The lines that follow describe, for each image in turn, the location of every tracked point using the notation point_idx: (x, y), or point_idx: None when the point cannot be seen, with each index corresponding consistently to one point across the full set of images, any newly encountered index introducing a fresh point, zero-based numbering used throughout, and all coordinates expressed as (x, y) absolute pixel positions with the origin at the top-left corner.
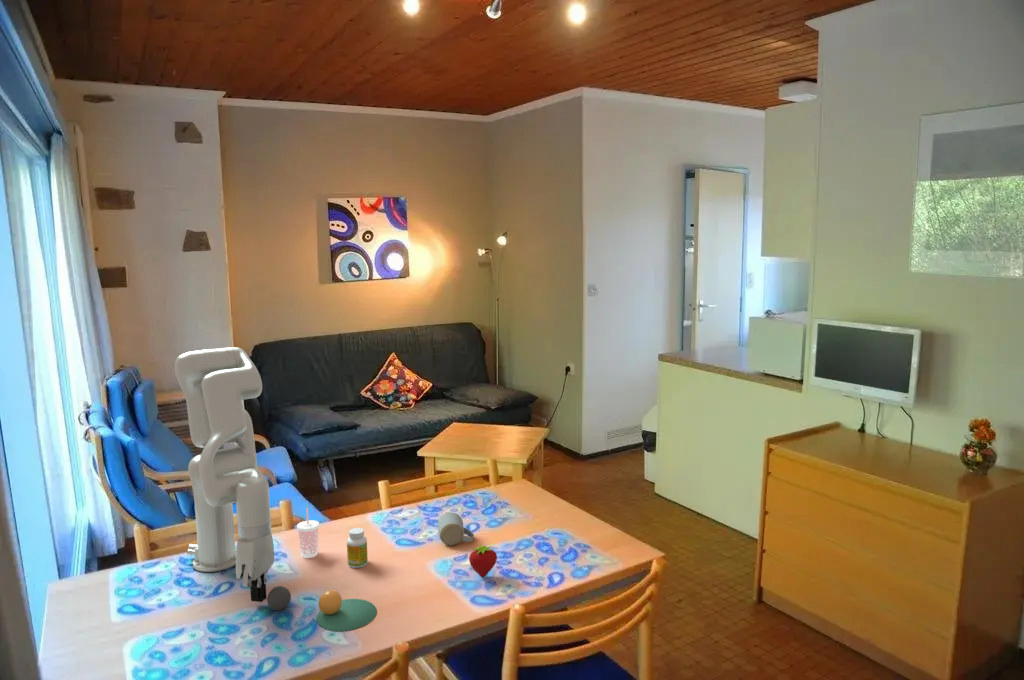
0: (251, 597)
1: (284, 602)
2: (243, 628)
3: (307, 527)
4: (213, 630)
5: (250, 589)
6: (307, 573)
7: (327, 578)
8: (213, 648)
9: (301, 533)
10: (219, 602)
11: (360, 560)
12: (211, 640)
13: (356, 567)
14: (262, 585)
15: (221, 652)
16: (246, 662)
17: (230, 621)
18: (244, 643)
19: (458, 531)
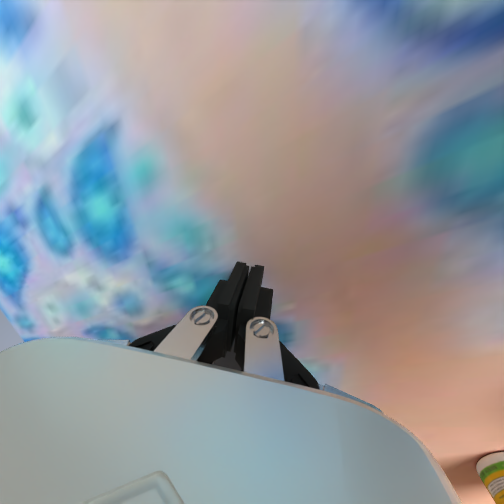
0: (233, 269)
1: None
2: (124, 270)
3: None
4: (79, 180)
5: (224, 288)
6: (495, 364)
7: (425, 411)
8: (19, 228)
9: None
10: (268, 75)
11: (495, 502)
12: (39, 203)
13: (477, 465)
14: (234, 350)
15: (20, 256)
16: (29, 318)
17: (142, 215)
18: (74, 295)
19: None
